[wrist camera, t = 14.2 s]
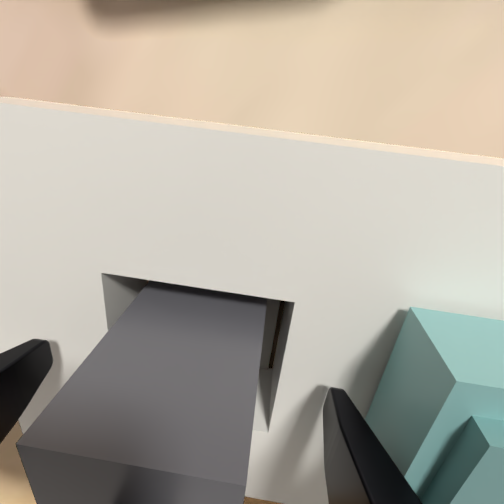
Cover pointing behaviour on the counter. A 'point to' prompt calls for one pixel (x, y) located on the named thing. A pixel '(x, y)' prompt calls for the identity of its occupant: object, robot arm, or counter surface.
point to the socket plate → (242, 251)
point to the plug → (155, 406)
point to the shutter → (445, 407)
